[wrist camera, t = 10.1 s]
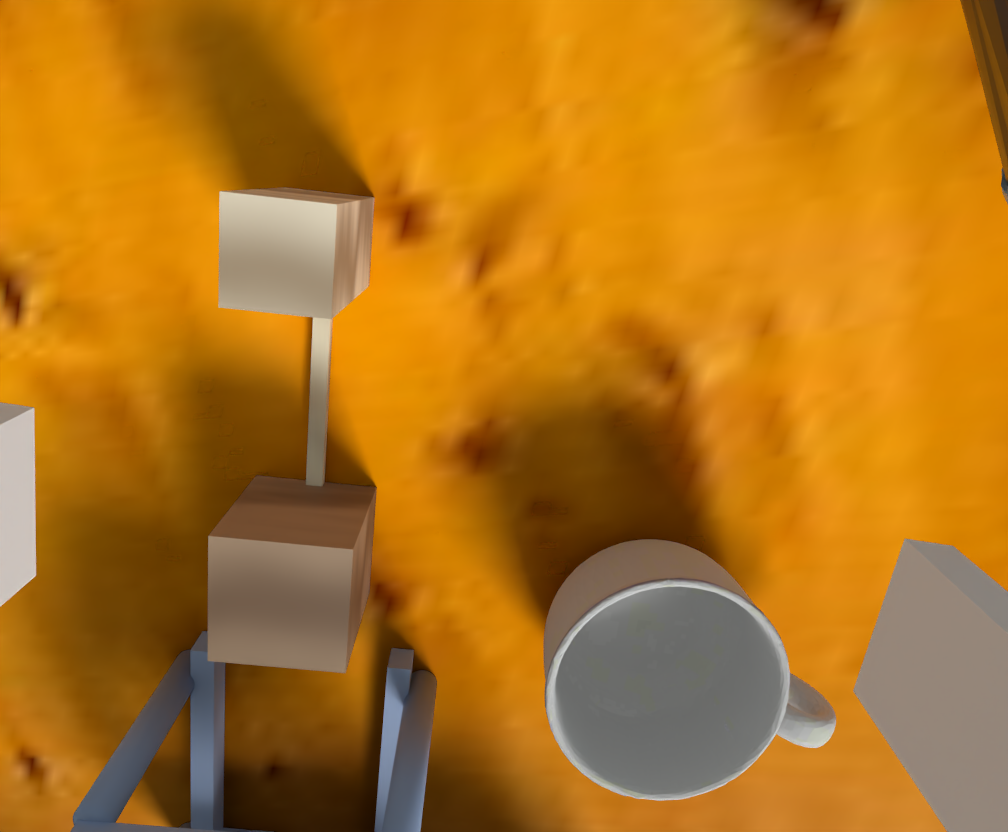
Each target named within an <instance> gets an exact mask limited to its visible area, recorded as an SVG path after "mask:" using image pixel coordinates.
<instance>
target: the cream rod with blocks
mask: <svg viewBox="0 0 1008 832" xmlns="http://www.w3.org/2000/svg"><path fill="white" fill-rule="evenodd" d="M373 212H374V197H366V196H357V195H348V194H340V193H331V192H322V191H313V190H304V189H295V188H287V187H283V188H266V189H249V190H232V191H220V204H219V307H221V308H230V309H240V310H249V311H258V312H268V313H277V314H287V315H296V316H305V317H313V327H312V350H311V374H310V398H309V421H308V445H307V469H306V480H299V479H288V478H278V477H268V476H258V475H256V476H255V477H254V479H253V480H252V481H251V482H250V484H249V485H248V486H247V487H246V489H245V490H244V491H243V493H242V494H241V495H240V496H239V498H238V499H237V500H236V501H235V503H234V504H233V505H232V506H231V508H230V509H229V510H228V512H227V513H226V514H225V515H224V517H223V518H222V519H221V520H220V522H219V523H218V524H217V525H216V527H215V528H214V529H213V530H212V532H211V533H210V534H209V536H208V661H213V662H224V663H236V664H247V665H259V666H270V667H281V668H293V669H304V670H316V671H327V672H338V673H346V670H347V666H348V663H349V660H350V656H351V653H352V649H353V646H354V643H355V639H356V636H357V633H358V629H359V626H360V623H361V619H362V616H363V613H364V609H365V606H366V602H367V599H368V596H369V589H370V575H371V560H372V546H373V531H374V517H375V503H376V488H377V487H370V486H360V485H350V484H340V483H329V482H325V463H326V443H327V423H328V403H329V382H330V362H331V342H332V322H333V317H335V316H336V315H337V314H338V313H339V312H340V311H341V310H342V309H344V308H345V307H346V306H347V305H348V304H349V303H350V302H351V301H353V300H354V299H355V298H356V297H357V296H358V295H359V294H360V293H362V292H363V291H364V290H365V289H366V288H367V287H368V286H369V277H370V260H371V244H372V228H373Z"/></svg>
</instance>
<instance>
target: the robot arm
mask: <svg viewBox="0 0 1008 832" xmlns="http://www.w3.org/2000/svg"><path fill="white" fill-rule="evenodd" d="M960 1H961V4H962V8H963V12H964V15H965V19H966V23H967V27H968V30H969V34H970V38H971V41H972V45H973V49H974V53H975V57H976V61H977V65H978V69H979V73H980V77H981V81H982V85H983V89H984V93H985V97H986V101H987V105H988V109H989V113H990V117H991V121H992V125H993V129H994V133H995V137H996V141H997V145H998V149H999V153H1000V157H1001V161H1002V166H1003V168H1002V182H1001V187H1002V191H1003V195H1004V197H1005V199H1006V202H1007V204H1008V0H960ZM35 576H36V521H35V434H34V407H27V406H20V405H14V404H7V403H1V402H0V606H2V605H3V604H4V603H5V602H6V601H7V600H9V599H10V598H11V597H12V596H13V595H14V594H15V593H17V592H18V591H19V590H20V589H21V588H22V587H24V586H25V585H26V584H27V583H28V582H29V581H30V580H32V579H33V578H34V577H35ZM853 691H854V693H855V694H856V696H857V697H858V699H859V700H860V702H861V703H862V705H863V706H864V708H865V709H866V711H867V712H868V714H869V715H870V717H871V718H872V720H873V721H874V723H875V724H876V726H877V727H878V729H879V730H880V732H881V733H882V735H883V736H884V738H885V739H886V741H887V742H888V744H889V745H890V747H891V748H892V750H893V751H894V753H895V754H896V756H897V757H898V759H899V760H900V762H901V763H902V765H903V766H904V768H905V769H906V771H907V772H908V773H909V775H910V776H911V778H912V779H913V781H914V782H915V784H916V785H917V787H918V788H919V790H920V791H921V793H922V794H923V796H924V797H925V799H926V800H927V802H928V803H929V805H930V806H931V808H932V809H933V811H934V812H935V814H936V815H937V817H938V818H939V820H940V821H941V823H942V824H943V826H944V827H945V829H946V830H947V832H1008V592H1007V591H1006V590H1005V589H1004V588H1002V587H1001V586H1000V585H999V584H998V583H996V582H995V581H994V580H993V579H992V578H990V577H989V576H988V575H987V574H986V573H985V572H983V571H982V570H981V569H980V568H979V567H977V566H976V565H975V564H974V563H973V562H971V561H970V560H969V559H968V558H967V557H965V556H964V555H963V554H962V553H961V552H959V551H958V550H957V549H956V548H955V547H954V546H950V545H943V544H936V543H930V542H923V541H917V540H910V539H904V542H903V545H902V548H901V551H900V554H899V557H898V560H897V563H896V566H895V569H894V572H893V575H892V578H891V581H890V584H889V587H888V590H887V593H886V596H885V599H884V602H883V605H882V607H881V610H880V613H879V616H878V619H877V622H876V625H875V628H874V631H873V634H872V637H871V640H870V643H869V646H868V649H867V652H866V655H865V658H864V661H863V664H862V667H861V670H860V673H859V675H858V678H857V681H856V684H855V687H854V690H853Z"/></svg>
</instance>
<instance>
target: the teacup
mask: <svg viewBox="0 0 1008 832" xmlns="http://www.w3.org/2000/svg"><path fill="white" fill-rule="evenodd" d="M544 669H545V679H546V683H545V707H546V713H547V717H548V720H549V724H550V727H551V730H552V732H553V734H554V737H555V739H556V741H557V742H558V744H559V746H560V748H561V750H562V751H563V753H564V754H565V756H566V757H567V758H568V759H569V761H570V762H571V763H572V764H573V765H574V766H575V767H576V768H577V769H578V770H579V771H580V772H582V773H583V774H584V775H585V776H587V777H588V778H590V779H591V780H592V781H593V782H595V783H597V784H599V785H600V786H602V787H604V788H607V789H609V790H611V791H613V792H616V793H618V794H621V795H624V796H631V797H634V798H637V799H649V800H658V801H662V800H679V799H685V798H689V797H693V796H696V795H700V794H703V793H706V792H709V791H712V790H714V789H716V788H718V787H721V786H723V785H725V784H726V783H727V782H729V781H731V780H733V779H734V778H736V777H738V776H739V775H740V774H741V773H743V772H744V771H745V770H746V769H748V768H749V767H750V766H751V765H752V764H753V763H754V762H755V761H756V760H757V759H758V757H759V756H760V755H761V754H762V753H763V752H764V750H765V749H766V748H767V746H768V745H769V744H770V743H771V741H772V740H773V738H774V737H775V735H776V734H777V735H779V736H781V737H782V738H784V739H786V740H788V741H790V742H792V743H794V744H797V745H800V746H803V747H809V748H817V747H820V746H823V745H824V744H825V743H826V742H827V741H828V740H829V739H830V738H831V736H832V734H833V731H834V729H835V725H836V716H835V713H834V710H833V708H832V707H831V705H830V704H829V702H828V701H827V700H826V699H825V698H824V697H823V696H822V695H821V694H820V693H819V692H818V691H816V690H815V689H814V688H813V687H811V686H810V685H809V684H807V683H806V682H804V681H803V680H801V679H799V678H798V677H796V676H795V675H793V674H791V673H790V671H789V666H788V659H787V654H786V652H785V649H784V646H783V643H782V641H781V638H780V636H779V634H778V633H777V631H776V629H775V628H774V626H773V625H772V624H771V622H770V621H769V620H768V619H767V617H766V616H765V615H764V614H763V613H762V611H761V610H760V609H758V608H757V607H756V606H755V605H754V603H753V602H752V601H751V599H750V598H749V597H748V595H747V594H746V593H745V591H744V590H743V589H742V588H741V586H740V585H739V584H738V583H737V582H736V580H735V579H734V578H733V577H732V576H731V575H730V574H729V573H728V572H727V571H726V570H725V569H724V568H723V567H721V566H720V565H719V564H718V563H717V562H715V561H714V560H713V559H711V558H710V557H708V556H707V555H705V554H704V553H702V552H700V551H698V550H696V549H694V548H691V547H689V546H686V545H684V544H680V543H677V542H672V541H667V540H658V539H640V540H634V541H627V542H623V543H619V544H616V545H614V546H611V547H608V548H606V549H604V550H601V551H599V552H598V553H596V554H594V555H593V556H591V557H590V558H588V559H587V560H585V561H584V562H583V563H581V564H580V565H579V566H578V567H577V568H576V569H575V570H574V571H573V572H572V573H571V574H570V575H569V576H568V577H567V579H566V580H565V581H564V583H563V584H562V586H561V587H560V589H559V590H558V592H557V593H556V595H555V598H554V600H553V602H552V604H551V607H550V610H549V613H548V616H547V620H546V625H545V633H544Z"/></svg>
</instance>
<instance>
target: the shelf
mask: <svg viewBox="0 0 1008 832" xmlns="http://www.w3.org/2000/svg"><path fill="white" fill-rule="evenodd" d="M413 656H414V650H410V649H399V648H391V653H390V658H389V662H388V667H387V678H386V691H385V704H384V716H383V729H382V742H381V755H380V767H379V780H378V793H377V805H376V818H375V831H374V832H420V831H421V822H422V813H423V804H424V795H425V786H426V777H427V768H428V759H429V750H430V741H431V733H432V724H433V715H434V706H435V697H436V688H437V680H436V677H435V676H434V675H433V674H432V673H431V672H429V671H426V670H418V671H415V672H413V673H412V667H413ZM190 694H191V822H188V823H184V824H182V825H181V826H180V827H179V828H175V827H162V826H149V825H136V824H124V823H115V822H116V821H117V819H118V817H119V816H120V814H121V812H122V810H123V809H124V807H125V805H126V804H127V802H128V800H129V798H130V797H131V795H132V793H133V792H134V790H135V788H136V786H137V785H138V783H139V781H140V780H141V778H142V776H143V774H144V773H145V771H146V769H147V768H148V766H149V764H150V763H151V761H152V759H153V757H154V756H155V754H156V752H157V751H158V749H159V747H160V745H161V744H162V742H163V740H164V739H165V737H166V735H167V733H168V732H169V730H170V728H171V727H172V725H173V723H174V721H175V720H176V718H177V716H178V715H179V713H180V711H181V709H182V708H183V706H184V704H185V703H186V701H187V699H188V698H189V696H190ZM224 726H225V663H224V662H213V661H208V631H202V633H201V635H200V636H199V638H198V639H197V641H196V642H195V644H194V646H193V647H192V649H191V650H185V651H182V652H181V653H180V654H179V655H178V656H177V658H176V659H175V661H174V662H173V664H172V665H171V667H170V668H169V670H168V671H167V673H166V674H165V676H164V678H163V679H162V681H161V682H160V684H159V685H158V687H157V688H156V690H155V691H154V693H153V694H152V696H151V697H150V699H149V700H148V702H147V703H146V705H145V706H144V708H143V709H142V711H141V712H140V714H139V716H138V717H137V719H136V720H135V722H134V723H133V725H132V726H131V728H130V729H129V731H128V732H127V734H126V735H125V737H124V738H123V740H122V741H121V743H120V744H119V746H118V747H117V749H116V750H115V752H114V754H113V755H112V757H111V758H110V760H109V761H108V763H107V764H106V766H105V767H104V769H103V770H102V772H101V773H100V775H99V776H98V778H97V779H96V781H95V782H94V784H93V785H92V787H91V789H90V790H89V792H88V793H87V795H86V796H85V798H84V799H83V801H82V802H81V804H80V805H79V807H78V808H77V810H76V811H75V813H74V815H73V822H74V827H73V828H72V830H71V832H272V831H259V830H246V829H233V828H223V811H224Z"/></svg>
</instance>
